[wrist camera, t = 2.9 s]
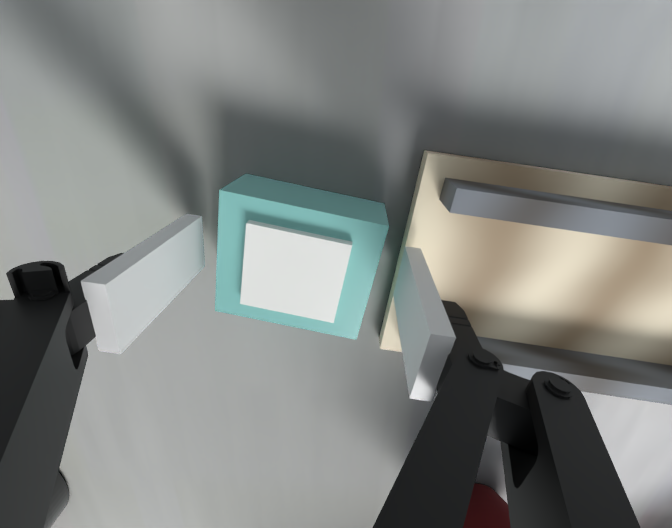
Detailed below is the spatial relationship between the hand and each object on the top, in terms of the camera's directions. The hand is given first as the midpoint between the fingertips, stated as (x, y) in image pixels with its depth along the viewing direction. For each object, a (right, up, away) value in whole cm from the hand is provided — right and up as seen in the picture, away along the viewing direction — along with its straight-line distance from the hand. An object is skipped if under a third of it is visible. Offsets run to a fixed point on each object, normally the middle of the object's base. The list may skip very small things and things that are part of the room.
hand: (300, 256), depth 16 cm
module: (0, +1, +2) cm, 2 cm away
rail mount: (+15, -1, +1) cm, 15 cm away
